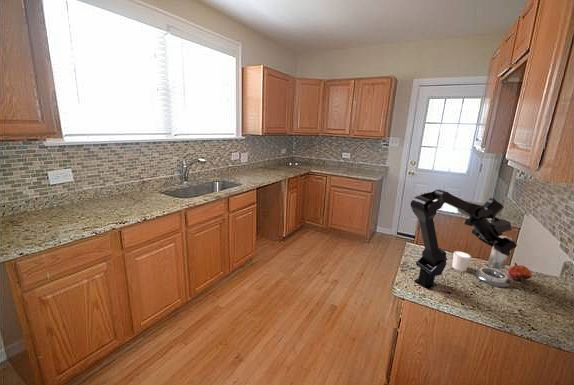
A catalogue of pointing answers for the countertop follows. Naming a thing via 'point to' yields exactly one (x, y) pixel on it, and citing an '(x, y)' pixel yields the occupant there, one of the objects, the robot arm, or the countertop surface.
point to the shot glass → (461, 260)
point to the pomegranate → (519, 272)
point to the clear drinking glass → (497, 257)
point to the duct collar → (492, 277)
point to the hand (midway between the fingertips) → (503, 251)
